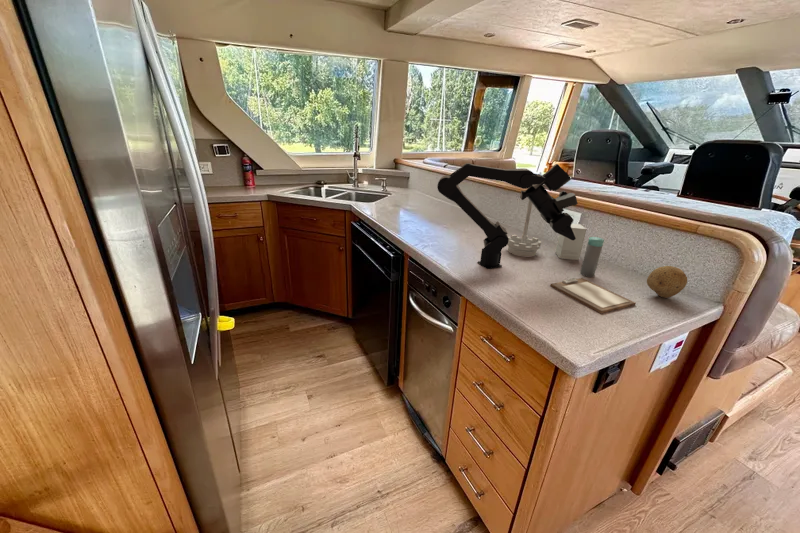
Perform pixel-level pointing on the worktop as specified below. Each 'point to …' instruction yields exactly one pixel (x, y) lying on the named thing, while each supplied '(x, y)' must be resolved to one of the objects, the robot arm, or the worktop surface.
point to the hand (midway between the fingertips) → (570, 235)
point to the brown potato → (667, 281)
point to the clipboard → (592, 295)
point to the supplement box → (571, 243)
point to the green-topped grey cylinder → (591, 256)
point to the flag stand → (524, 240)
